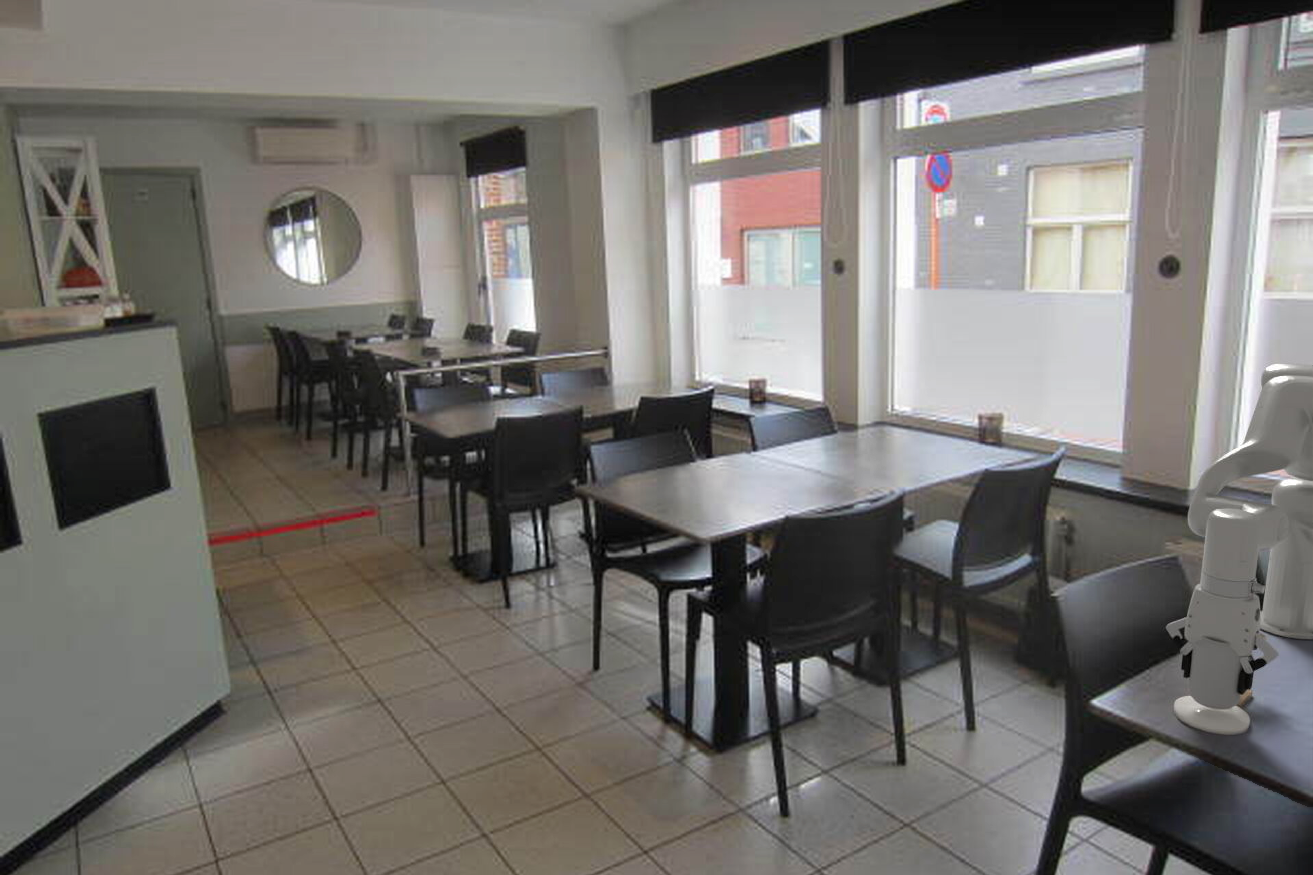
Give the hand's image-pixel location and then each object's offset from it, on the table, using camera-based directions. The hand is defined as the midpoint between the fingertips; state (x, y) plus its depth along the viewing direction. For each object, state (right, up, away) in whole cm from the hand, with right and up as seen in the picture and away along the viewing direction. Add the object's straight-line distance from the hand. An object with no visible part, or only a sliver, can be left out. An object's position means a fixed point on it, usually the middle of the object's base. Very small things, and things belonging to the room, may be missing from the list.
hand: (1215, 682), depth 155 cm
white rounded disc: (0, -6, +1) cm, 6 cm away
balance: (+9, -4, +9) cm, 13 cm away
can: (0, -4, +1) cm, 4 cm away
